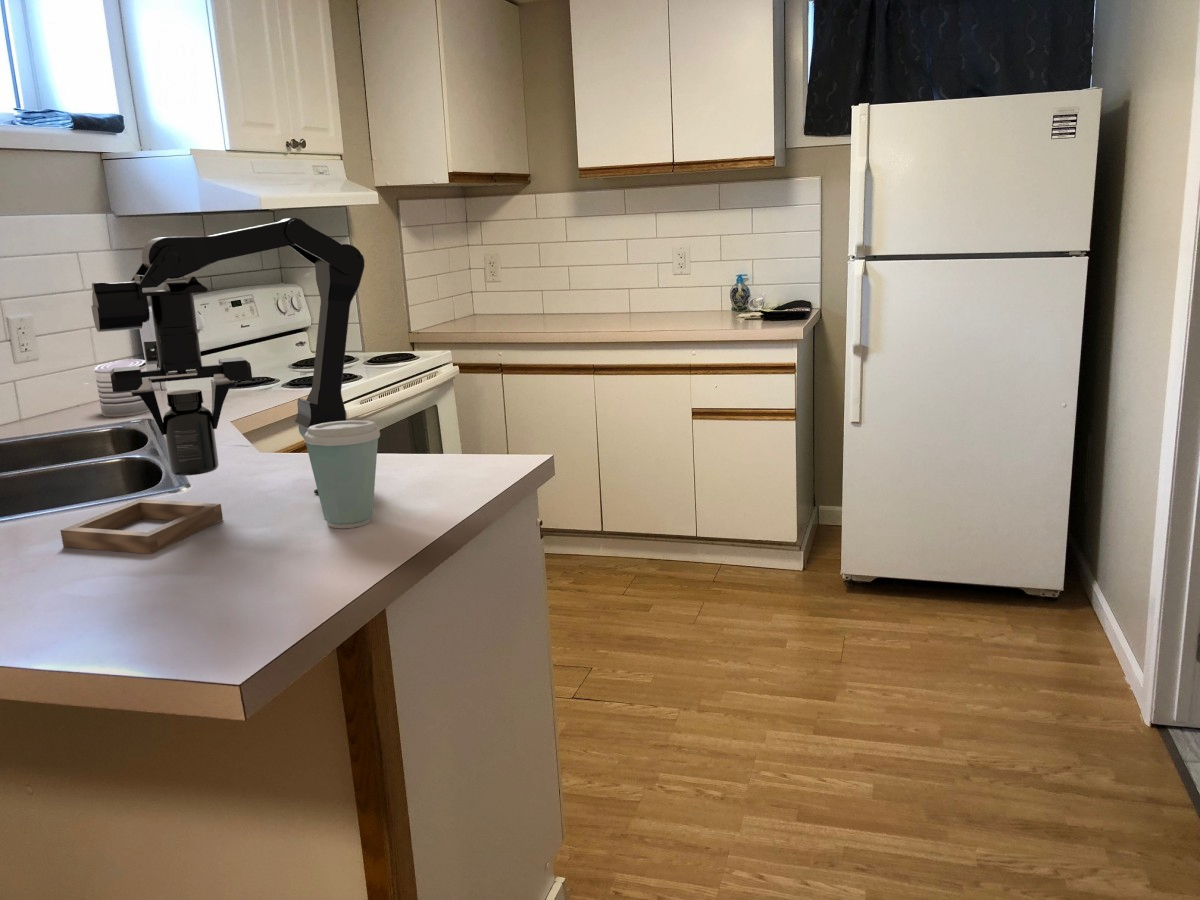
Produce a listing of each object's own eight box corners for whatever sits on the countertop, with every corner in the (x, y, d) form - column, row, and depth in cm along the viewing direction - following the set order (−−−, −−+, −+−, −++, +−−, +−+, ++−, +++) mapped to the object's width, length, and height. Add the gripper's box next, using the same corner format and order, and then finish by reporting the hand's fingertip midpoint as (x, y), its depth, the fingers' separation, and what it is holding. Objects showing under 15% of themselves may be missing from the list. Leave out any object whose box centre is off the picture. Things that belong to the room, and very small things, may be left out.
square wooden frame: (223, 519, 146) (220, 503, 146) (150, 553, 133) (147, 536, 132) (141, 514, 151) (139, 499, 150) (63, 547, 137) (60, 530, 136)
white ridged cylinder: (163, 409, 238) (155, 360, 235) (119, 418, 229) (111, 367, 226) (135, 405, 244) (127, 358, 241) (91, 414, 235) (83, 365, 232)
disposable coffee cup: (309, 518, 145) (297, 419, 142) (381, 506, 149) (371, 410, 146) (319, 538, 136) (306, 433, 132) (396, 526, 140) (386, 423, 136)
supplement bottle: (229, 466, 148) (219, 388, 145) (197, 478, 142) (186, 396, 139) (192, 464, 150) (182, 387, 148) (159, 475, 144) (148, 395, 141)
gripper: (236, 317, 152) (247, 415, 156) (102, 326, 144) (118, 429, 148) (246, 322, 143) (258, 427, 146) (104, 333, 134) (120, 443, 138)
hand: (189, 431), depth 145 cm, fingers closed on supplement bottle, 7 cm apart
